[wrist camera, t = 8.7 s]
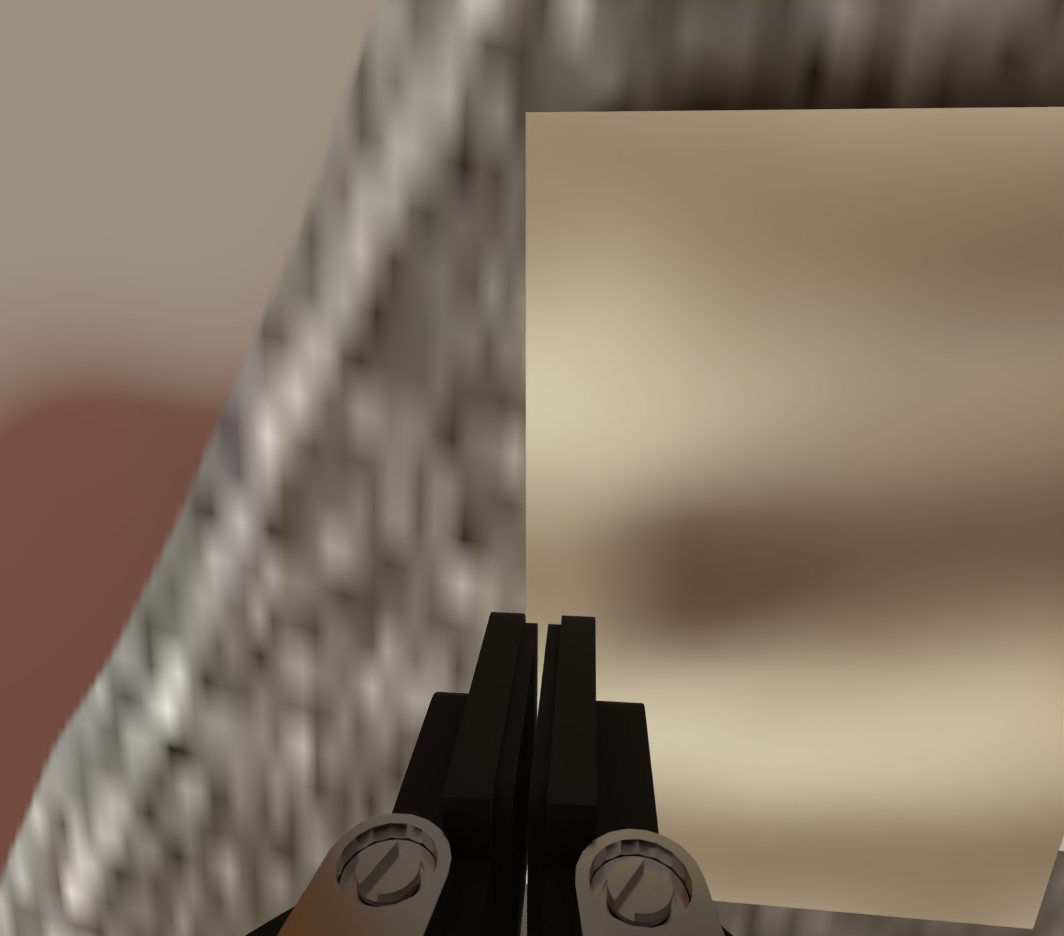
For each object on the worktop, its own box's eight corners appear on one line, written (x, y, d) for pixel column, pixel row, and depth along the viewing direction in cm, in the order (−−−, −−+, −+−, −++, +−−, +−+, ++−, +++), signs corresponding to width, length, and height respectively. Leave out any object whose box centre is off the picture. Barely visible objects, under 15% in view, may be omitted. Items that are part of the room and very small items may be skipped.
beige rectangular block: (949, 789, 19) (1033, 928, 15) (541, 759, 20) (526, 884, 16) (1114, 133, 14) (1305, 103, 10) (546, 137, 15) (526, 112, 11)
